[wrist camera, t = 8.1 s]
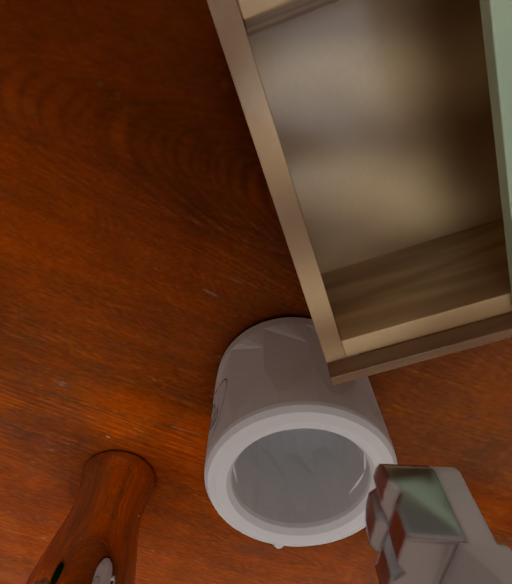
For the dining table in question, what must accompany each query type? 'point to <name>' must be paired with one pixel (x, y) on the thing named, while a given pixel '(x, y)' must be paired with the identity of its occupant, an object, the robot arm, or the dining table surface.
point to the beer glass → (100, 525)
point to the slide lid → (501, 100)
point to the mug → (291, 439)
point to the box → (378, 169)
